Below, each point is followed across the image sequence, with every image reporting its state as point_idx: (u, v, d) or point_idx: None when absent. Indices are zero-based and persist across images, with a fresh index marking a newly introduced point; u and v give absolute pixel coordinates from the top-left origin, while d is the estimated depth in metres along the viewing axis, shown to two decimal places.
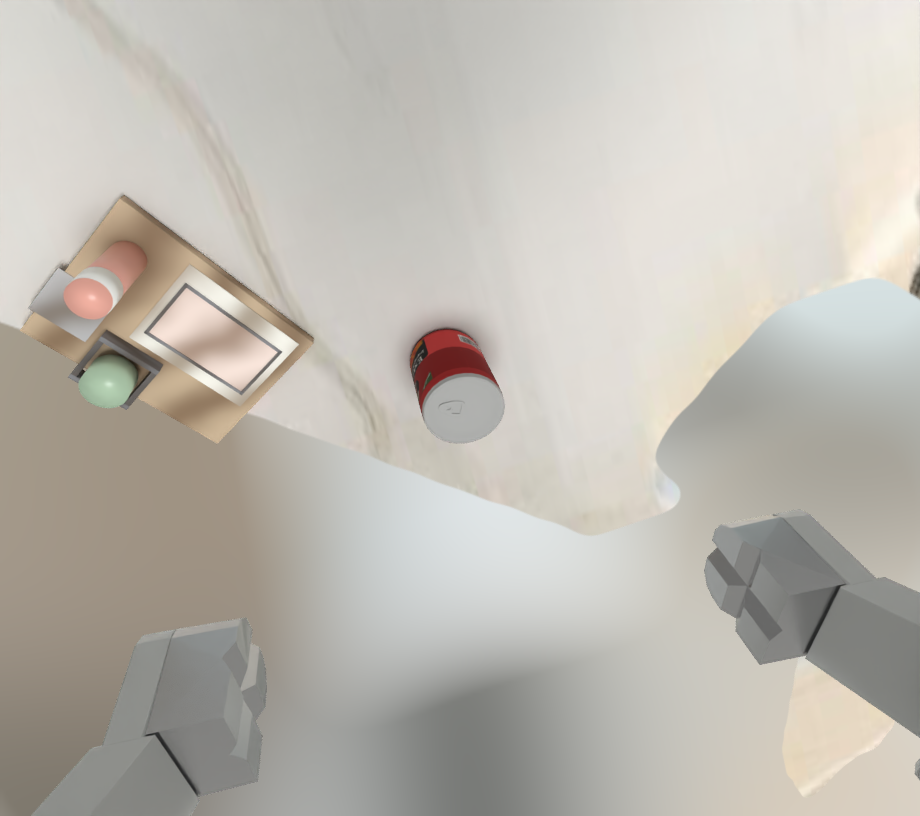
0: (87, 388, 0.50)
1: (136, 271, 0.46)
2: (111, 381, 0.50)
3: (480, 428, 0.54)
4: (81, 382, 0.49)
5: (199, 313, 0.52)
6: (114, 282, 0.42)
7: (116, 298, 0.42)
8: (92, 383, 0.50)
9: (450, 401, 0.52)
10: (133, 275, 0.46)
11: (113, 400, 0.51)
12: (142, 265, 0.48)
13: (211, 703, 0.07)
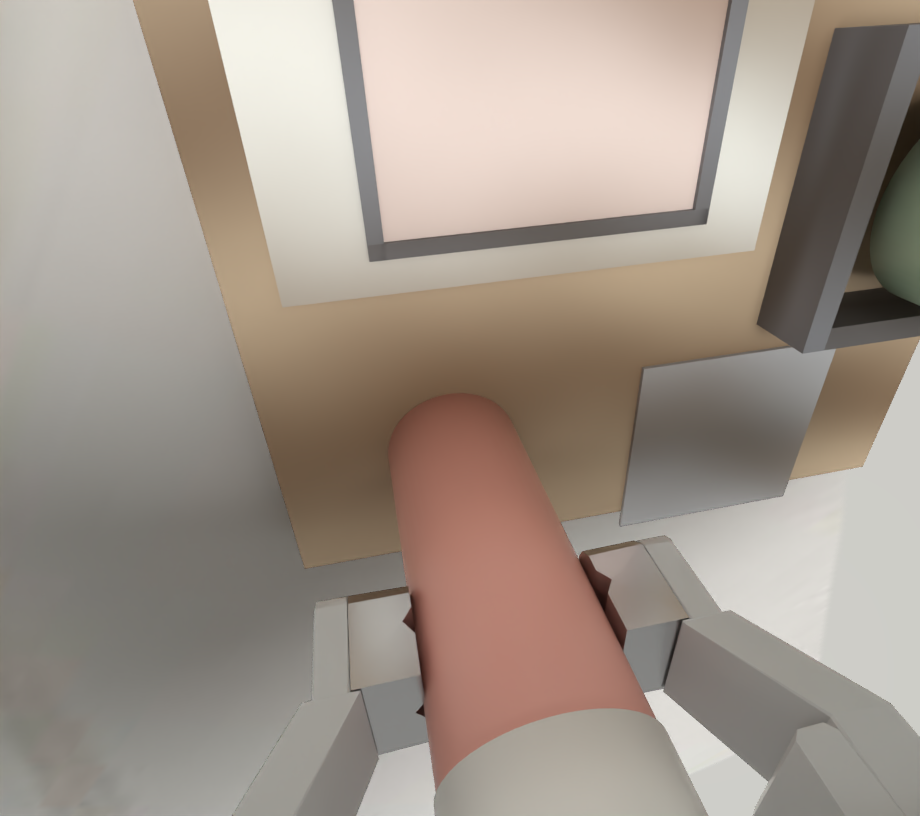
0: None
1: (429, 517, 0.09)
2: None
3: None
4: None
5: (454, 93, 0.09)
6: None
7: None
8: None
9: None
10: (440, 552, 0.09)
11: None
12: (419, 452, 0.11)
13: (405, 662, 0.08)
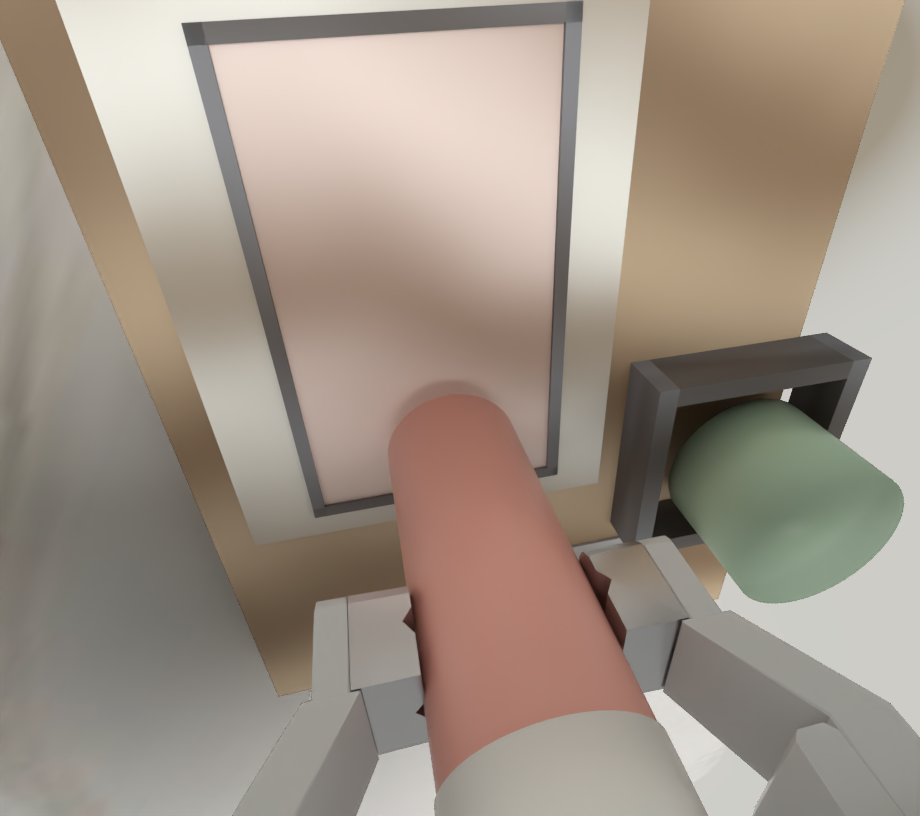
0: (835, 568, 0.13)
1: (429, 519, 0.09)
2: (776, 551, 0.12)
3: None
4: (818, 588, 0.14)
5: (367, 425, 0.13)
6: None
7: None
8: (808, 574, 0.13)
9: None
10: (440, 554, 0.09)
11: (859, 500, 0.12)
12: (419, 453, 0.11)
13: (405, 662, 0.08)
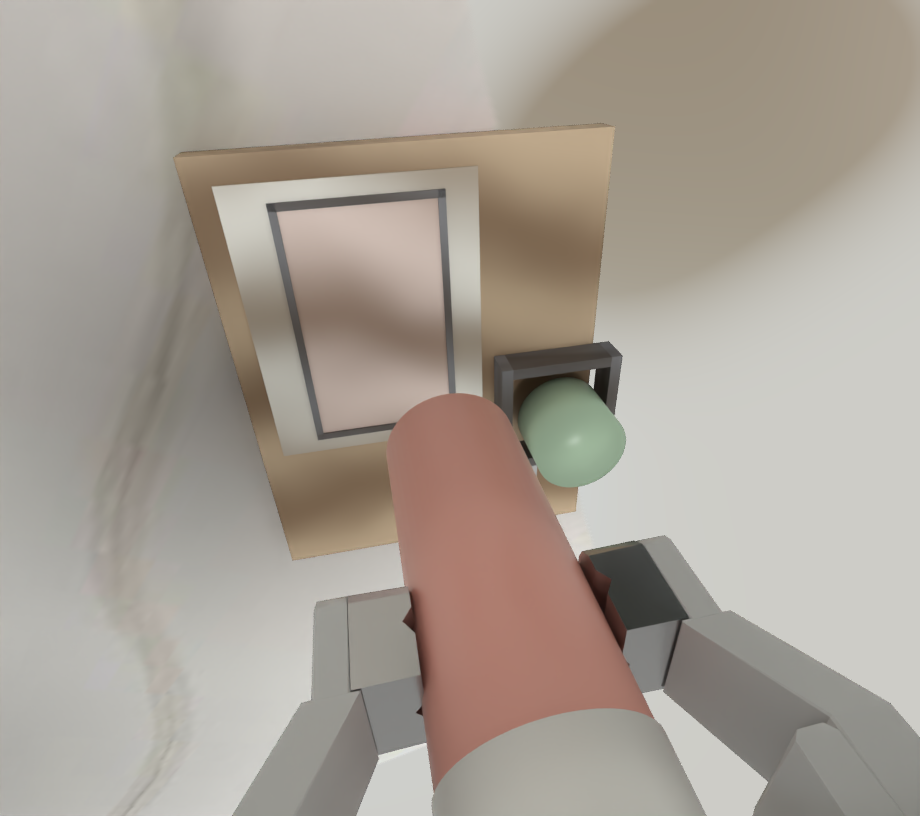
0: (596, 467, 0.25)
1: (427, 518, 0.09)
2: (557, 454, 0.24)
3: None
4: (590, 480, 0.25)
5: (347, 387, 0.25)
6: None
7: None
8: (581, 470, 0.25)
9: None
10: (438, 553, 0.09)
11: (596, 427, 0.23)
12: (417, 452, 0.11)
13: (405, 662, 0.08)
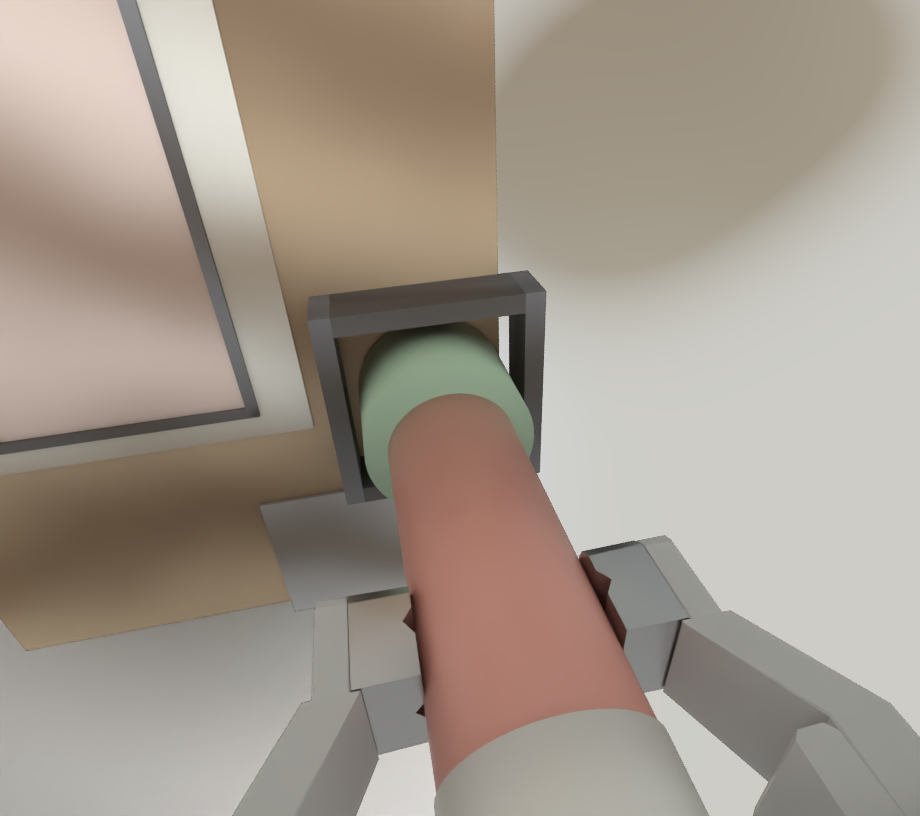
0: None
1: (429, 518, 0.09)
2: None
3: None
4: None
5: (19, 356, 0.13)
6: None
7: None
8: None
9: None
10: (440, 553, 0.09)
11: None
12: (419, 452, 0.11)
13: (405, 662, 0.08)
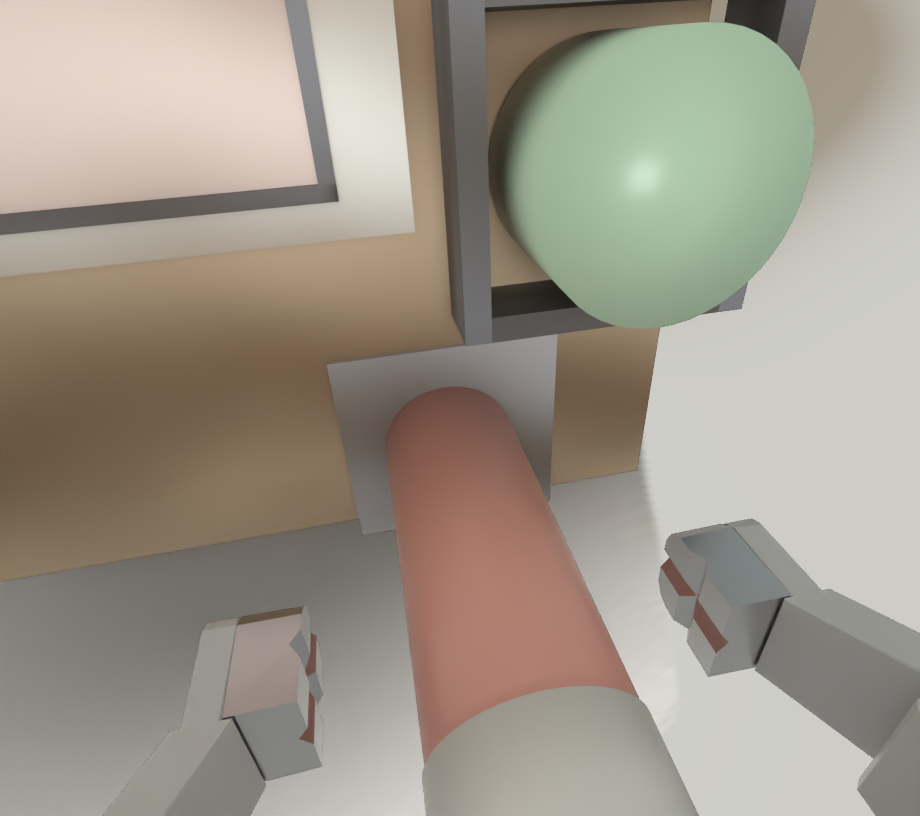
0: (715, 264, 0.08)
1: (423, 506, 0.10)
2: (604, 201, 0.08)
3: None
4: (693, 307, 0.09)
5: None
6: None
7: None
8: (670, 268, 0.08)
9: None
10: (433, 539, 0.09)
11: (733, 97, 0.07)
12: (415, 443, 0.11)
13: (284, 688, 0.07)
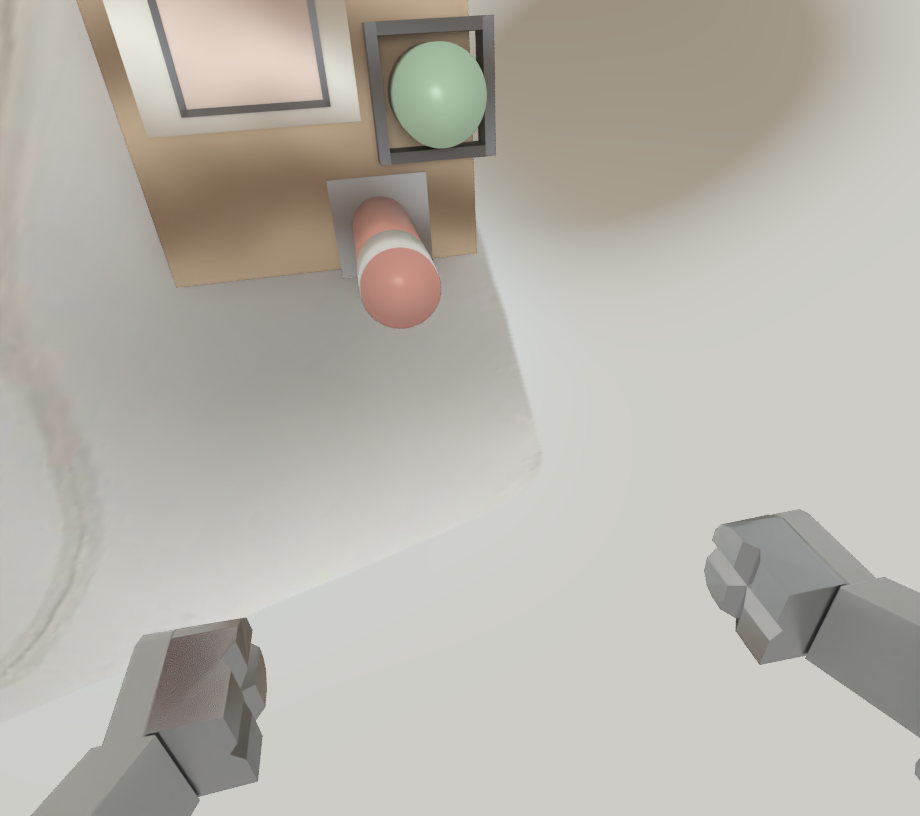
0: (460, 123, 0.24)
1: (362, 220, 0.26)
2: (415, 98, 0.24)
3: None
4: (456, 140, 0.25)
5: (204, 47, 0.24)
6: (359, 264, 0.22)
7: (373, 249, 0.21)
8: (443, 124, 0.24)
9: None
10: (365, 224, 0.25)
11: (452, 64, 0.23)
12: (362, 210, 0.27)
13: (211, 703, 0.07)
